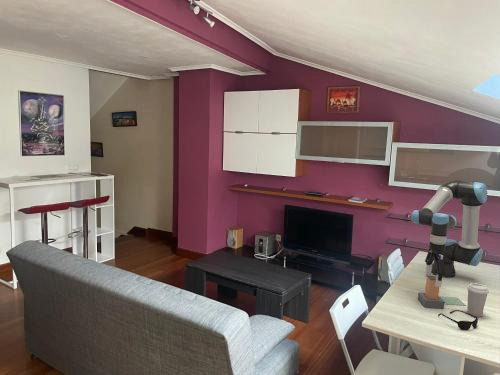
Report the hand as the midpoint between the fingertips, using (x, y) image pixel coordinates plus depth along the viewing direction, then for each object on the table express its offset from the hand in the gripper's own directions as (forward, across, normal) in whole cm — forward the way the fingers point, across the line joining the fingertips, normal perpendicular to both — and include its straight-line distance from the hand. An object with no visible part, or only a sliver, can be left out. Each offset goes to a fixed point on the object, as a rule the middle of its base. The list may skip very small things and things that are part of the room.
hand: (432, 281), depth 199 cm
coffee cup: (+13, +8, +19) cm, 25 cm away
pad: (+13, -6, +14) cm, 20 cm away
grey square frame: (+13, 0, 0) cm, 13 cm away
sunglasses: (+14, +18, +6) cm, 23 cm away
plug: (+13, 0, 0) cm, 13 cm away
